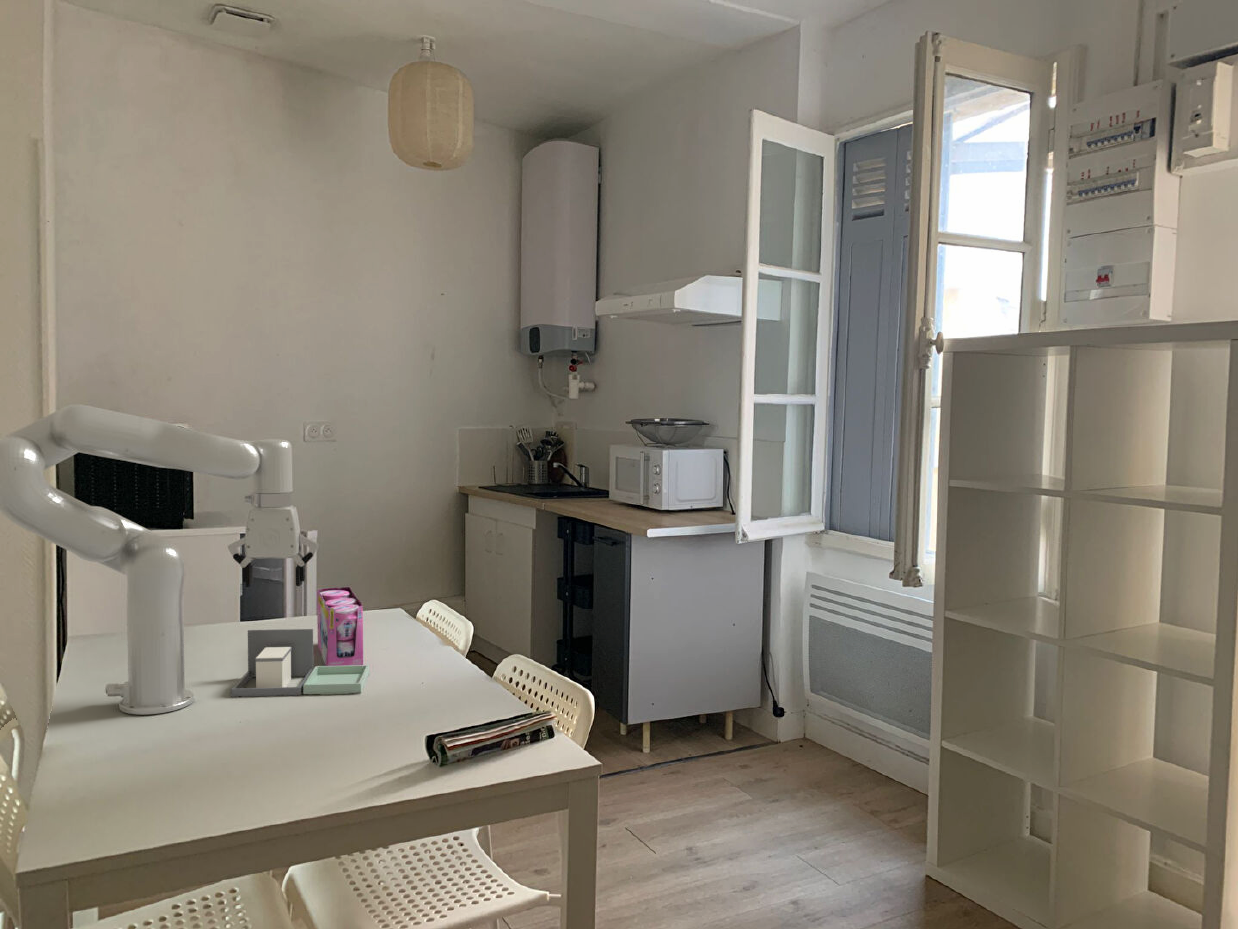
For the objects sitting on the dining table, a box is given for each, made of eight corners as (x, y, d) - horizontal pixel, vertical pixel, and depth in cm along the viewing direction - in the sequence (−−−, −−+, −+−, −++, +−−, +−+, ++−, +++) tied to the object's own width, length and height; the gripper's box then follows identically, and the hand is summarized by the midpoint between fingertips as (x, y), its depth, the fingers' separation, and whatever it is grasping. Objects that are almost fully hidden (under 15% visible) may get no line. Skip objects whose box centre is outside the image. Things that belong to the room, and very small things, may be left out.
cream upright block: (255, 693, 183) (255, 658, 182) (265, 680, 191) (265, 647, 190) (282, 692, 183) (282, 657, 183) (291, 680, 191) (291, 646, 191)
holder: (231, 697, 180) (230, 646, 179) (248, 677, 193) (248, 630, 192) (300, 695, 181) (300, 645, 181) (313, 675, 194) (313, 628, 194)
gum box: (365, 668, 200) (365, 607, 199) (327, 672, 197) (327, 609, 196) (351, 641, 222) (350, 586, 221) (316, 644, 219) (316, 588, 218)
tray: (303, 695, 182) (303, 685, 181) (315, 675, 194) (315, 666, 194) (360, 693, 183) (360, 683, 183) (369, 674, 196) (369, 665, 196)
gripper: (222, 503, 180) (224, 590, 181) (314, 502, 182) (315, 588, 183) (232, 499, 187) (234, 582, 188) (320, 498, 189) (322, 581, 191)
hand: (274, 585), depth 186 cm, fingers open, 9 cm apart
